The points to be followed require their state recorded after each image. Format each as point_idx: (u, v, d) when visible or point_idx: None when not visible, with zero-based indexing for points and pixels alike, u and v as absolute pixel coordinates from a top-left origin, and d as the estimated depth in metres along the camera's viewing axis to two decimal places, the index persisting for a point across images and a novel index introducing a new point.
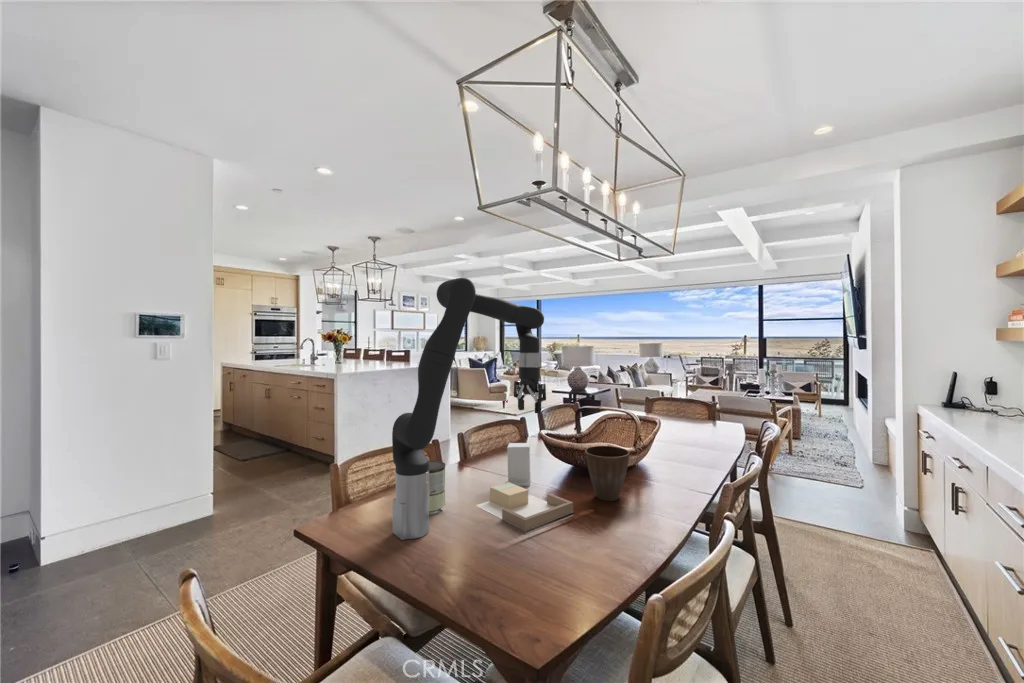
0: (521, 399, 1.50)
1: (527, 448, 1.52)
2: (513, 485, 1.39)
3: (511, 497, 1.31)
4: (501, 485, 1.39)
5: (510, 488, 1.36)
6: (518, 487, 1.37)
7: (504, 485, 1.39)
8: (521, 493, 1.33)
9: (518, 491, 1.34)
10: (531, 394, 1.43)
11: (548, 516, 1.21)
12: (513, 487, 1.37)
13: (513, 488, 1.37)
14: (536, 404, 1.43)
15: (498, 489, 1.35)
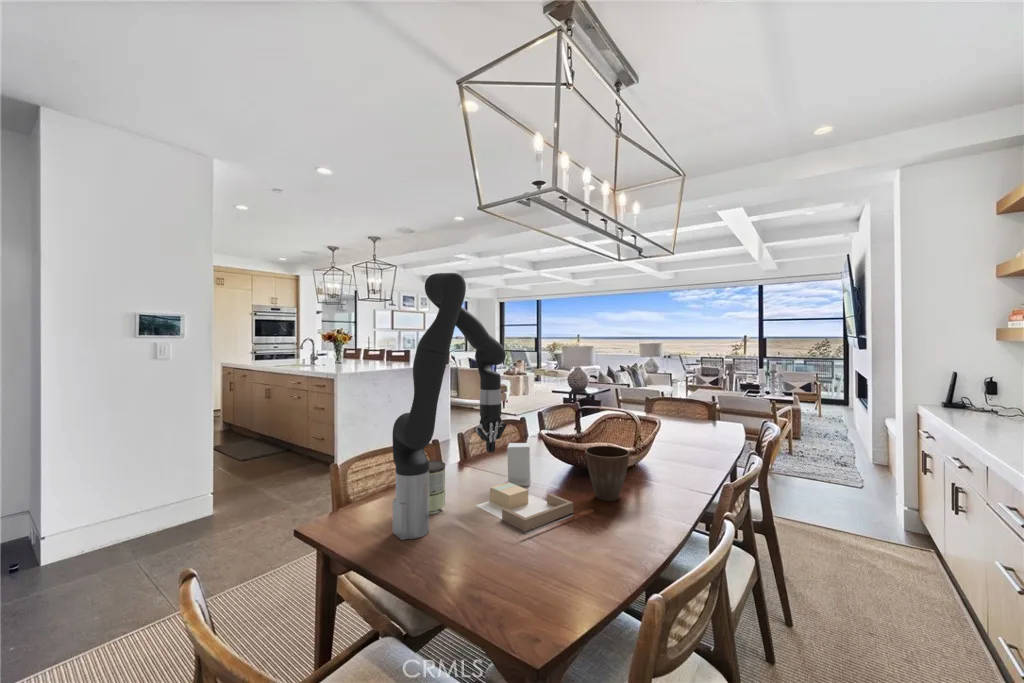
0: None
1: (527, 448, 1.52)
2: (513, 485, 1.39)
3: (511, 497, 1.31)
4: (501, 485, 1.39)
5: (510, 488, 1.36)
6: (518, 487, 1.37)
7: (504, 485, 1.39)
8: (521, 493, 1.33)
9: (518, 491, 1.34)
10: (495, 432, 1.43)
11: (548, 516, 1.21)
12: (513, 487, 1.37)
13: (513, 488, 1.37)
14: (494, 443, 1.44)
15: (498, 489, 1.35)
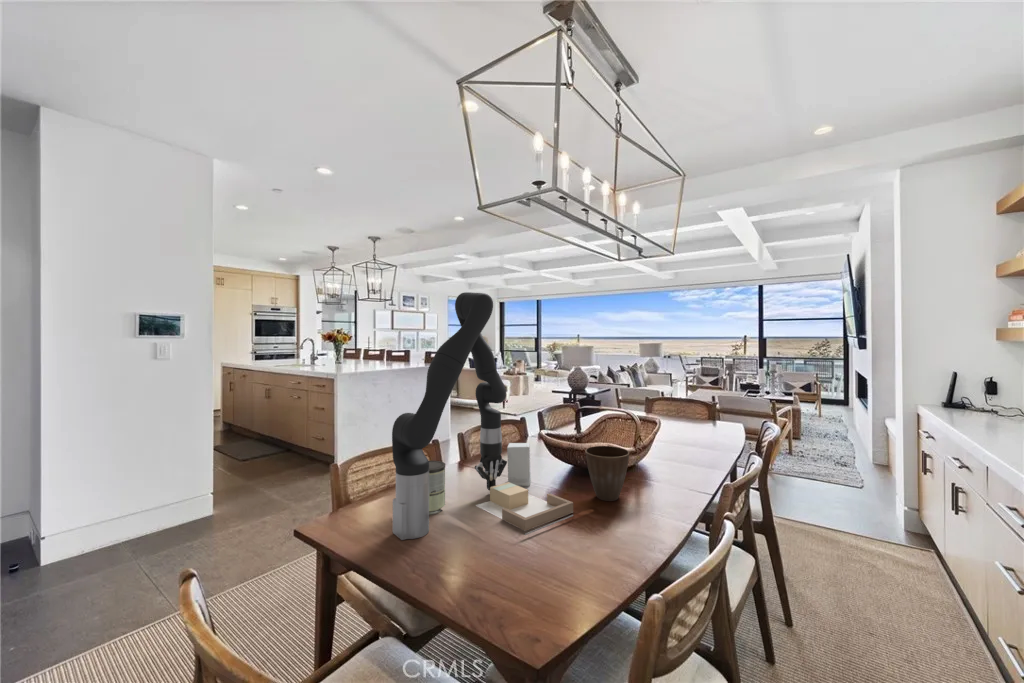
0: None
1: (527, 448, 1.52)
2: (513, 485, 1.39)
3: (511, 497, 1.31)
4: (501, 485, 1.39)
5: (510, 488, 1.36)
6: (518, 487, 1.37)
7: (504, 485, 1.39)
8: (521, 493, 1.33)
9: (518, 491, 1.34)
10: (496, 470, 1.43)
11: (548, 516, 1.21)
12: (513, 487, 1.37)
13: (513, 488, 1.37)
14: (494, 481, 1.44)
15: (498, 489, 1.35)
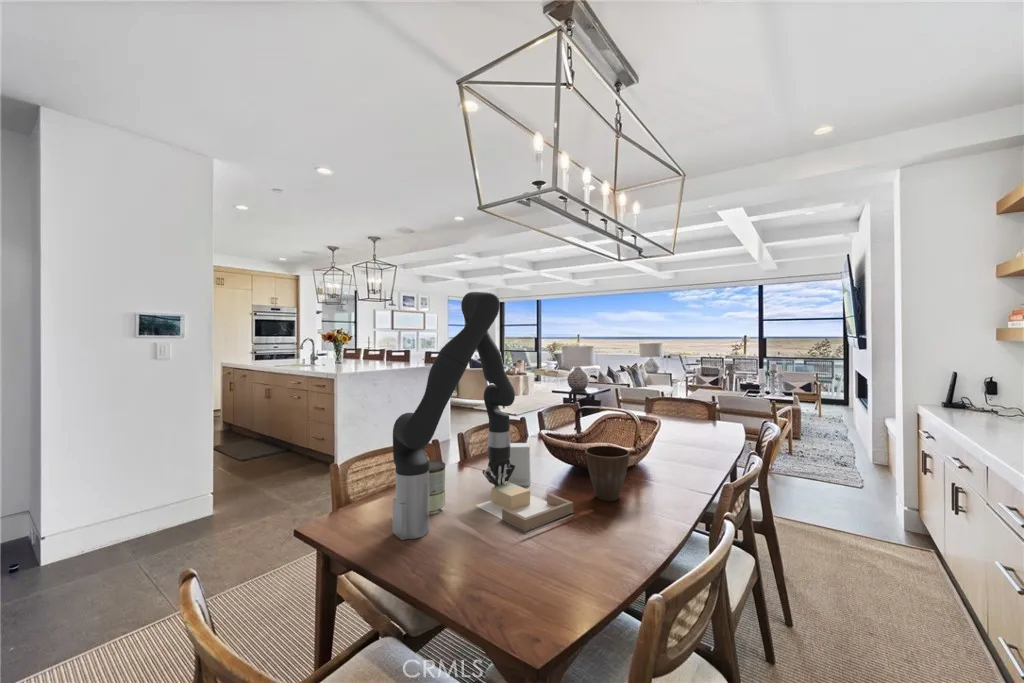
0: None
1: (527, 448, 1.52)
2: (515, 486, 1.39)
3: (513, 498, 1.30)
4: (503, 486, 1.39)
5: (512, 489, 1.36)
6: (520, 488, 1.37)
7: (506, 485, 1.39)
8: (523, 493, 1.33)
9: (520, 492, 1.33)
10: (504, 474, 1.40)
11: (548, 516, 1.21)
12: (515, 487, 1.37)
13: (514, 488, 1.36)
14: None
15: (500, 490, 1.35)
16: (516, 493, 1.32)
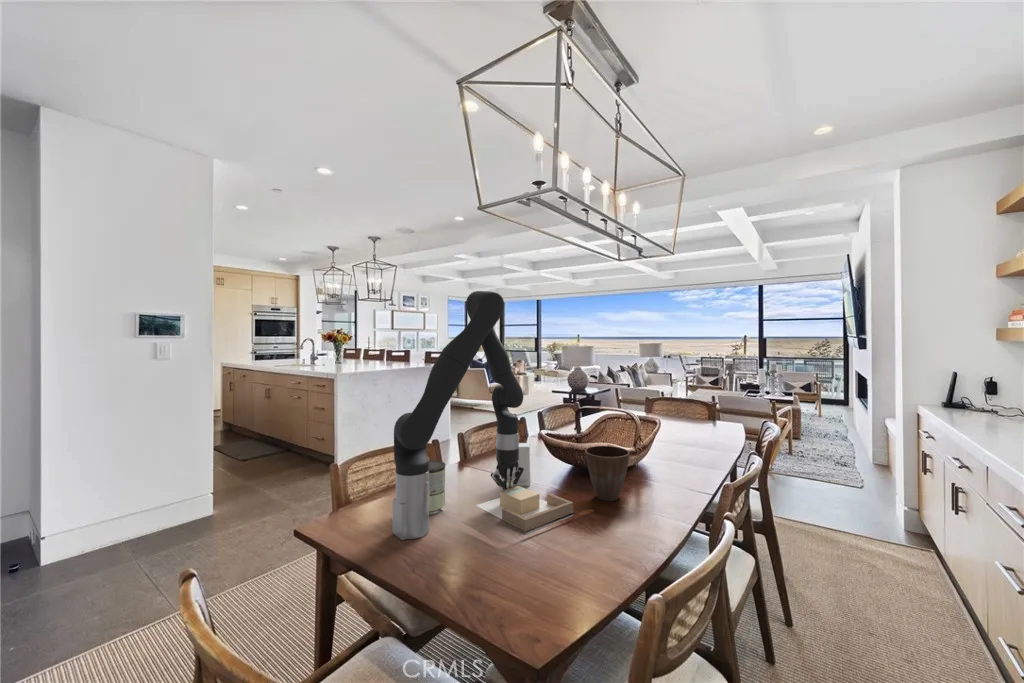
0: None
1: (527, 448, 1.52)
2: (523, 489, 1.35)
3: (523, 502, 1.27)
4: (511, 489, 1.35)
5: (521, 492, 1.32)
6: (529, 491, 1.33)
7: (514, 489, 1.35)
8: (532, 497, 1.29)
9: (529, 495, 1.30)
10: (512, 477, 1.36)
11: (548, 516, 1.21)
12: (523, 491, 1.34)
13: (523, 492, 1.33)
14: None
15: (508, 493, 1.31)
16: (525, 497, 1.28)
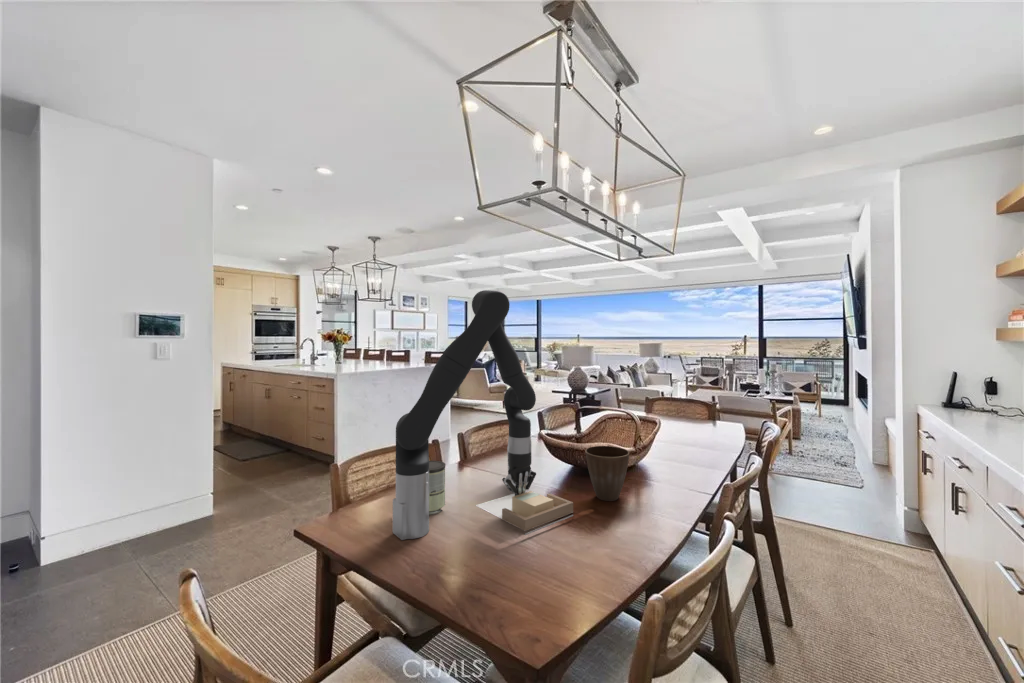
0: None
1: None
2: (536, 494, 1.31)
3: (537, 508, 1.22)
4: (524, 494, 1.31)
5: (534, 498, 1.28)
6: (542, 497, 1.29)
7: (527, 494, 1.31)
8: (546, 503, 1.25)
9: (543, 501, 1.25)
10: (525, 482, 1.32)
11: (548, 516, 1.21)
12: (537, 496, 1.29)
13: (537, 497, 1.28)
14: None
15: (521, 499, 1.27)
16: (539, 503, 1.24)
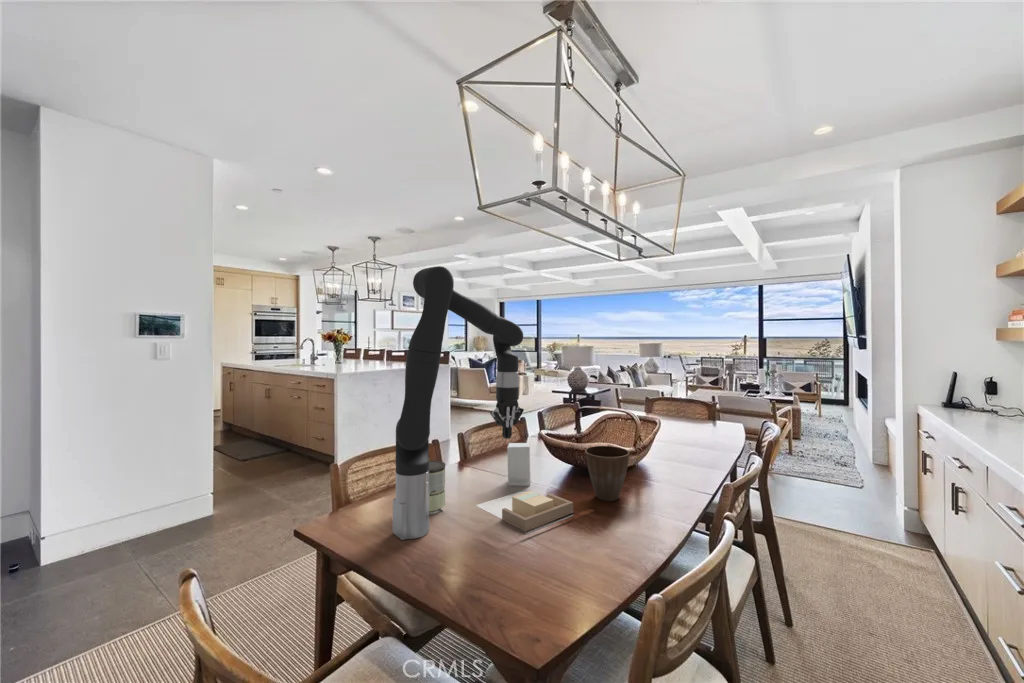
0: None
1: (527, 448, 1.52)
2: (536, 494, 1.31)
3: (537, 508, 1.22)
4: (524, 494, 1.31)
5: (534, 498, 1.28)
6: (542, 497, 1.29)
7: (527, 494, 1.31)
8: (546, 503, 1.25)
9: (543, 501, 1.25)
10: (512, 416, 1.36)
11: (548, 516, 1.21)
12: (537, 496, 1.29)
13: (537, 497, 1.28)
14: (510, 428, 1.36)
15: (521, 499, 1.27)
16: (539, 503, 1.24)
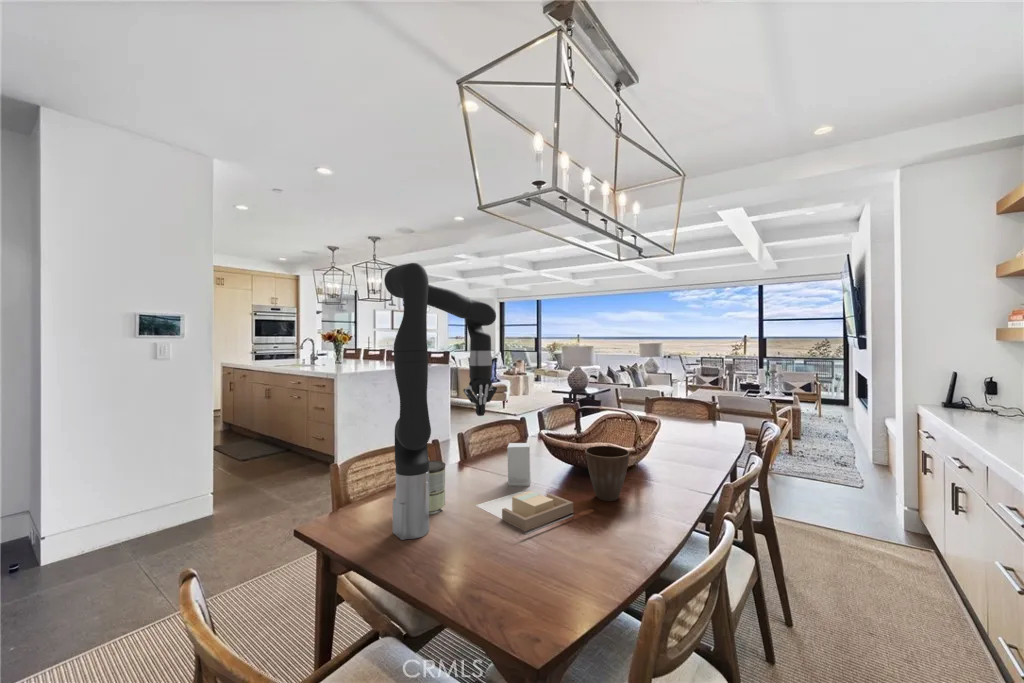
0: None
1: (527, 448, 1.52)
2: (536, 494, 1.31)
3: (537, 508, 1.22)
4: (524, 494, 1.31)
5: (534, 498, 1.28)
6: (542, 497, 1.29)
7: (527, 494, 1.31)
8: (546, 503, 1.25)
9: (543, 501, 1.25)
10: (485, 394, 1.39)
11: (548, 516, 1.21)
12: (537, 496, 1.29)
13: (537, 497, 1.28)
14: (483, 406, 1.40)
15: (521, 499, 1.27)
16: (539, 503, 1.24)
